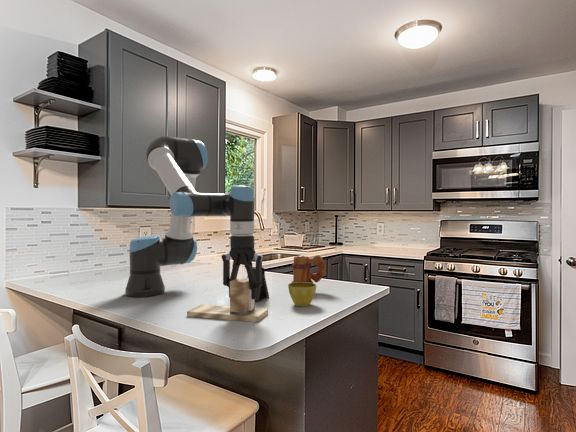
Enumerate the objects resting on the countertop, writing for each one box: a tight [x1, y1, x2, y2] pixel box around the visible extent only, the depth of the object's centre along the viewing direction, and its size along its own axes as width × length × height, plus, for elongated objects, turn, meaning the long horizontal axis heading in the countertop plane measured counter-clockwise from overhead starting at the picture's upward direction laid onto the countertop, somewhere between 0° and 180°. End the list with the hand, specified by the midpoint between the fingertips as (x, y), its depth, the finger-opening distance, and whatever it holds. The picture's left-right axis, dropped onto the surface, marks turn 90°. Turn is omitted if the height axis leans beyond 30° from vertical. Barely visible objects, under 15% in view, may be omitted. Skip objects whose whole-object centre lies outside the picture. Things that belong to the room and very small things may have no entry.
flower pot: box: [287, 282, 317, 307], centre depth 126 cm, size 10×10×7 cm
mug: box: [290, 254, 326, 283], centre depth 148 cm, size 15×8×15 cm, turn 68°
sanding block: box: [229, 276, 256, 315], centre depth 112 cm, size 5×8×10 cm, turn 164°
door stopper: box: [246, 266, 270, 303], centre depth 135 cm, size 9×6×12 cm, turn 152°
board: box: [186, 304, 269, 323], centre depth 114 cm, size 24×9×2 cm, turn 74°
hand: (242, 308), depth 112 cm, fingers closed on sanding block, 5 cm apart
